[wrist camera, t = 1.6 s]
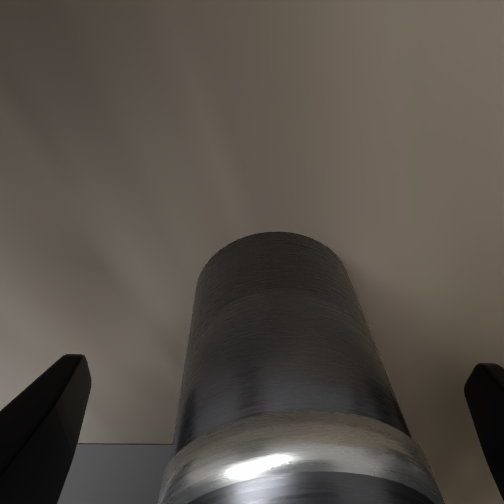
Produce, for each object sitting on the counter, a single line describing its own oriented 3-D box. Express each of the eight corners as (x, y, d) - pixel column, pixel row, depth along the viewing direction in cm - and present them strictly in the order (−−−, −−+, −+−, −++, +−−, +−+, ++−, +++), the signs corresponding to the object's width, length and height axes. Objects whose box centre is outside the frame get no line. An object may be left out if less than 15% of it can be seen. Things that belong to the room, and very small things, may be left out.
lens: (369, 231, 10) (553, 562, 4) (336, 355, 12) (423, 668, 7) (190, 224, 10) (116, 567, 4) (193, 351, 12) (152, 675, 6)
